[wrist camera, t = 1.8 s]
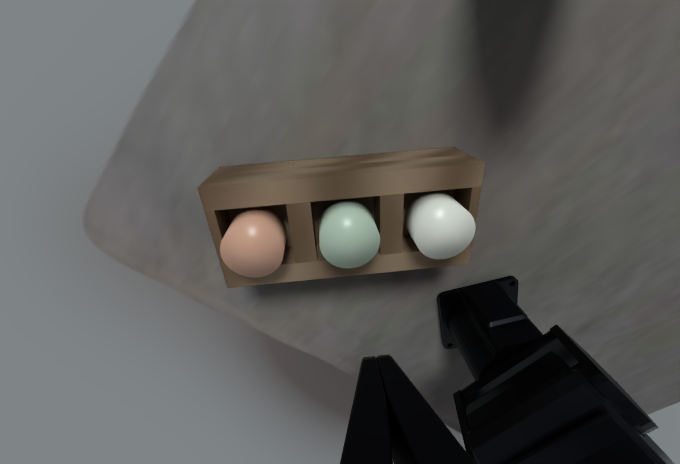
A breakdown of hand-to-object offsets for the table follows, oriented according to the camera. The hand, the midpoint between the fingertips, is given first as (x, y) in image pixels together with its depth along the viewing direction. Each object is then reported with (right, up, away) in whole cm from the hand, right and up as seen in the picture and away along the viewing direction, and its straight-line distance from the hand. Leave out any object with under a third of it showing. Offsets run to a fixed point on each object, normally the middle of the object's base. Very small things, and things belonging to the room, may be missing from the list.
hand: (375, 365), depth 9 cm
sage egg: (-1, +4, +9) cm, 10 cm away
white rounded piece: (+4, +5, +9) cm, 11 cm away
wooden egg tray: (-1, +6, +12) cm, 13 cm away
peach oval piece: (-6, +4, +8) cm, 11 cm away
